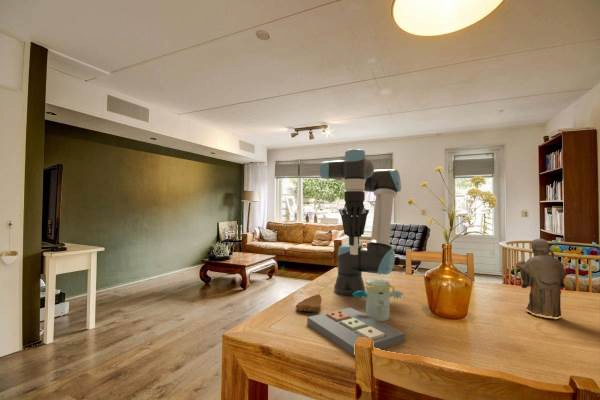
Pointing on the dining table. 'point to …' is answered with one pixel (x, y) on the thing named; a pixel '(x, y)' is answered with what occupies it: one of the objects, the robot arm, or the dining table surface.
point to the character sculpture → (378, 298)
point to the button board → (348, 337)
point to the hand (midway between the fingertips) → (353, 254)
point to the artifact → (310, 304)
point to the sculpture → (543, 279)
